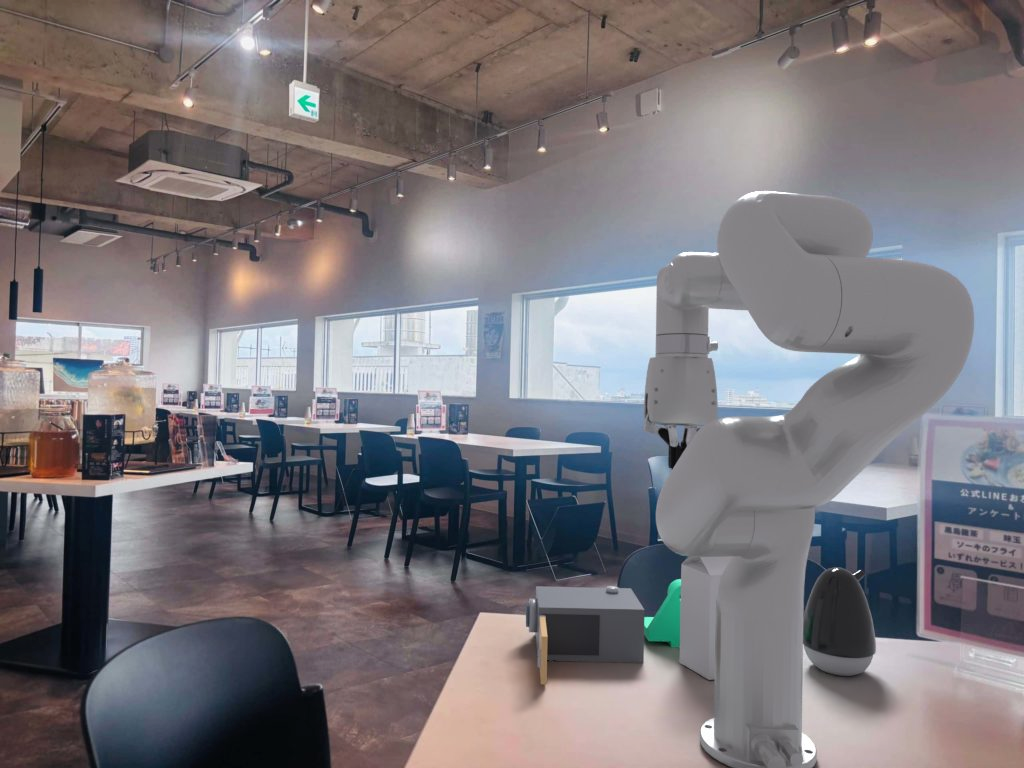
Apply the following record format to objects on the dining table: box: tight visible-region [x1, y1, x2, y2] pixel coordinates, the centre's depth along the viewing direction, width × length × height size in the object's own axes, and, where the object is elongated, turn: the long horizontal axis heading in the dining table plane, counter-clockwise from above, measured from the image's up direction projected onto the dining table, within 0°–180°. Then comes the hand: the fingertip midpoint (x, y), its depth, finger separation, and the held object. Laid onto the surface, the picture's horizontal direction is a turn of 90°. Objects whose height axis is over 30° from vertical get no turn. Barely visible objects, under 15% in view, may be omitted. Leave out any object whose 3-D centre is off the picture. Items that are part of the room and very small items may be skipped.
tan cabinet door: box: [537, 615, 548, 685], centre depth 101 cm, size 1×10×6 cm, turn 179°
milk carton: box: [679, 556, 733, 681], centre depth 105 cm, size 7×7×19 cm
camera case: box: [525, 585, 645, 664], centre depth 112 cm, size 12×18×9 cm
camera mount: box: [644, 578, 681, 648], centre depth 118 cm, size 12×8×10 cm, turn 93°
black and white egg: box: [803, 566, 877, 677], centre depth 106 cm, size 10×10×15 cm
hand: (679, 473), depth 103 cm, fingers closed
